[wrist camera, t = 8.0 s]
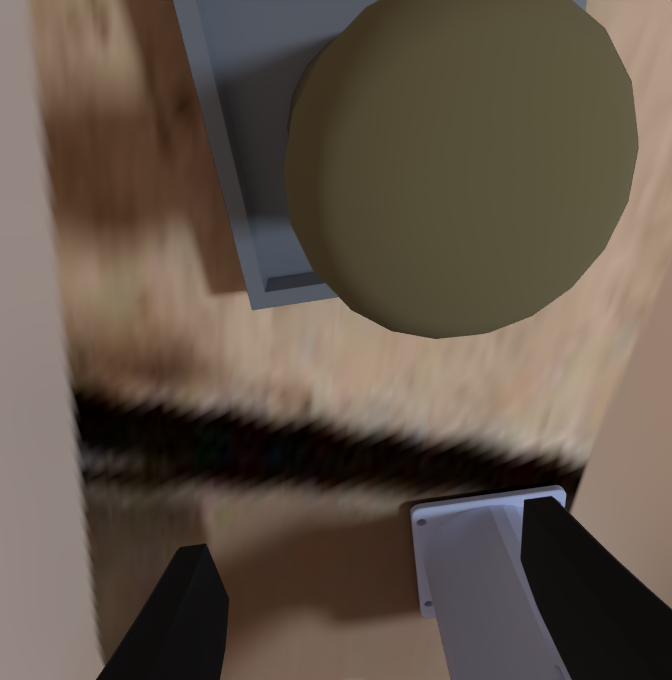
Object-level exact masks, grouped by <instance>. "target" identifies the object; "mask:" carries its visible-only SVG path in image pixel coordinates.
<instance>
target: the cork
mask: <svg viewBox="0 0 672 680" xmlns="http://www.w3.org/2000/svg"><path fill="white" fill-rule="evenodd" d="M287 129H288V143H287V149H286V155H285V162H284V168H283V174H284V181H285V188H286V195H287V202H288V209H289V216H290V223H291V226H292V228H293V230H294V232H295V235H296V237H297V239H298V241H299V243H300V245H301V247H302V249H303V251H304V253H305V255H306V257H307V259H308V261H309V263H310V265H311V267H312V269H313V270H314V272H315V273H316V274H317V275H318V276H319V277H320V278H321V279H322V280H323V281H324V282H325V283H326V284H327V285H328V286H329V287H330V288H331V289H332V290H333V291H334V292H335V293H336V294H337V295H338V296H339V297H340V299H341V300H342V301H343V302H344V303H345V304H346V305H347V306H348V307H349V308H350V309H351V310H352V311H354V312H356V313H358V314H360V315H362V316H364V317H366V318H368V319H370V320H372V321H373V322H375V323H377V324H379V325H381V326H383V327H385V328H387V329H389V330H391V331H394V332H400V333H406V334H411V335H417V336H422V337H428V338H433V339H440V338H449V337H458V336H468V335H477V334H484V333H489V332H492V331H494V330H497V329H499V328H502V327H505V326H507V325H510V324H512V323H515V322H518V321H520V320H523V319H525V318H528V317H530V316H533V315H534V314H535V313H537V312H538V311H540V310H541V309H542V308H544V307H545V306H547V305H548V304H549V303H551V302H552V301H554V300H555V299H556V298H558V297H559V296H561V295H562V294H563V293H565V292H566V291H568V290H569V289H571V288H572V287H573V285H574V284H575V283H576V282H577V281H578V280H579V278H580V277H581V276H582V275H583V274H584V273H585V271H586V270H587V269H588V268H589V267H590V266H591V265H592V263H593V262H594V261H595V260H596V259H597V258H598V256H599V255H600V254H601V253H602V252H603V251H604V249H605V248H606V245H607V243H608V241H609V239H610V237H611V235H612V233H613V231H614V229H615V227H616V225H617V223H618V221H619V219H620V217H621V215H622V213H623V211H624V209H625V207H626V205H627V203H628V200H629V195H630V190H631V185H632V179H633V174H634V169H635V164H636V159H637V153H638V133H637V124H636V115H635V106H634V98H633V89H632V81H631V79H630V77H629V75H628V73H627V71H626V69H625V67H624V65H623V63H622V61H621V59H620V57H619V55H618V53H617V51H616V49H615V47H614V45H613V43H612V41H611V39H610V37H609V35H608V33H607V31H606V29H605V28H604V27H603V26H602V25H601V24H599V23H598V22H597V21H596V20H595V19H594V18H592V17H591V16H590V15H589V14H588V13H587V12H585V11H584V10H583V9H582V8H581V7H580V6H578V5H577V4H576V3H575V2H574V1H573V0H378V1H376V2H374V3H372V4H370V5H369V6H367V7H366V8H365V9H364V10H363V11H362V12H361V13H360V14H359V15H358V16H357V17H356V18H355V19H354V20H353V21H352V22H351V23H350V24H349V25H348V26H347V27H346V29H345V30H344V31H343V32H342V33H341V34H340V35H339V36H338V37H337V38H336V39H334V40H332V41H330V42H328V43H327V45H326V46H325V47H324V48H323V49H322V50H321V51H320V52H319V53H318V54H317V55H316V56H315V57H314V58H313V59H312V60H311V61H310V62H309V63H308V65H307V66H306V68H305V70H304V72H303V74H302V76H301V78H300V80H299V82H298V84H297V86H296V88H295V90H294V92H293V94H292V99H291V106H290V112H289V118H288V125H287Z"/></svg>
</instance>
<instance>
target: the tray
mask: <svg viewBox="0 0 672 680" xmlns="http://www.w3.org/2000/svg"><path fill="white" fill-rule="evenodd" d="M376 1H378V0H173V2H174V6H175V10H176V14H177V18H178V22H179V26H180V30H181V33H182V37H183V41H184V45H185V49H186V53H187V57H188V61H189V65H190V69H191V73H192V77H193V81H194V84H195V88H196V92H197V96H198V100H199V104H200V108H201V112H202V116H203V120H204V124H205V128H206V131H207V135H208V139H209V143H210V147H211V151H212V155H213V159H214V163H215V167H216V171H217V175H218V179H219V182H220V186H221V190H222V194H223V198H224V202H225V206H226V210H227V214H228V218H229V222H230V226H231V230H232V233H233V237H234V241H235V245H236V249H237V253H238V257H239V261H240V265H241V269H242V273H243V277H244V280H245V284H246V288H247V292H248V296H249V300H250V304H251V308H252V310H257V309H264V308H270V307H277V306H283V305H290V304H296V303H303V302H310V301H316V300H323V299H329V298H336V297H339V296H338V295H337V294H336V293H335V292H334V291H333V290H332V289H331V288H330V287H329V286H328V285H327V284H326V283H325V282H324V281H323V280H322V279H321V278H320V277H319V276H318V275H317V274H316V273H315V272H314V270H313V269H312V267H311V265H310V263H309V261H308V259H307V257H306V255H305V253H304V251H303V249H302V247H301V245H300V243H299V241H298V239H297V237H296V235H295V232H294V230H293V228H292V226H291V223H290V216H289V209H288V202H287V195H286V188H285V181H284V174H283V168H284V162H285V155H286V149H287V143H288V129H287V125H288V118H289V112H290V106H291V99H292V94H293V92H294V90H295V88H296V86H297V84H298V82H299V80H300V78H301V76H302V74H303V72H304V70H305V68H306V66H307V65H308V63H309V62H310V61H311V60H312V59H313V58H314V57H315V56H316V55H317V54H318V53H319V52H320V51H321V50H322V49H323V48H324V47H325V46H326V45H327V43H328V42H330V41H332V40H334V39H336V38H337V37H338V36H339V35H340V34H341V33H342V32H343V31H344V30H345V29H346V27H347V26H348V25H349V24H350V23H351V22H352V21H353V20H354V19H355V18H356V17H357V16H358V15H359V14H360V13H361V12H362V11H363V10H364V9H365V8H366V7H367V6H369V5H370V4H372V3H374V2H376ZM573 1H574V2H575V3H576V4H577V5H578V6H580V7H581V8H582V9H583V10H584V11H585V10H586V0H573Z"/></svg>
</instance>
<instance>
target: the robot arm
mask: <svg viewBox="0 0 672 680" xmlns="http://www.w3.org/2000/svg"><path fill="white" fill-rule="evenodd" d="M565 500H566V493H565V491H564V489H563V488H562V487H561V486H558V485H553V486H545V487H538V488H531V489H523V490H516V491H509V492H502V493H494V494H487V495H480V496H473V497H465V498H458V499H451V500H443V501H436V502H429V503H422V504H417V505H415V506H413V507H412V508H411V510H410V515H411V525H412V535H413V544H414V554H415V564H416V574H417V584H418V593H419V603H420V611H421V615H422V616H423V617H424V618H437V623H438V627H439V631H440V636H441V640H442V644H443V649H444V653H445V657H446V662H447V666H448V670H449V674H450V679H451V680H672V609H671V608H670V607H669V606H668V605H666V604H665V603H664V602H663V601H662V600H661V599H660V598H658V597H657V596H656V595H655V594H654V593H653V592H652V591H651V590H650V589H648V588H647V587H646V586H645V585H644V584H643V583H642V582H641V581H639V579H637V578H636V577H635V576H634V575H633V574H632V573H631V572H630V571H629V570H628V569H626V568H625V567H624V566H623V565H622V564H621V563H620V562H619V561H618V560H617V559H616V558H615V557H614V556H613V555H612V554H611V553H610V552H608V551H607V550H606V549H605V548H604V547H603V546H602V545H601V544H600V543H599V542H598V541H597V540H596V539H595V538H594V537H593V536H592V535H591V534H590V533H589V532H588V531H587V530H586V529H585V528H584V527H583V526H582V525H581V524H580V523H579V522H578V521H577V520H576V519H575V518H574V517H573V516H572V515H571V514H570V513H569V512H568V511H567V510H566V509H565ZM420 519H422V520H420ZM228 607H229V597H228V595H227V593H226V590H225V588H224V585H223V583H222V581H221V578H220V576H219V573H218V571H217V569H216V566H215V564H214V561H213V559H212V557H211V554H210V552H209V549H208V547H207V545H206V544H200V545H193V546H185V547H180V548H179V549H178V550H177V551H176V553H175V555H174V556H173V558H172V560H171V562H170V563H169V565H168V567H167V568H166V570H165V572H164V573H163V575H162V577H161V578H160V580H159V582H158V584H157V585H156V587H155V589H154V590H153V592H152V594H151V595H150V597H149V598H148V600H147V602H146V603H145V605H144V607H143V608H142V610H141V612H140V613H139V615H138V616H137V618H136V620H135V621H134V623H133V624H132V626H131V627H130V629H129V631H128V632H127V634H126V635H125V637H124V638H123V640H122V642H121V643H120V645H119V646H118V648H117V649H116V651H115V652H114V654H113V656H112V657H111V659H110V660H109V662H108V663H107V664H106V666H105V667H104V669H103V670H102V672H101V673H100V675H99V676H98V678H97V679H96V680H220V675H221V670H222V664H223V658H224V653H225V645H226V634H227V622H228Z"/></svg>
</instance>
